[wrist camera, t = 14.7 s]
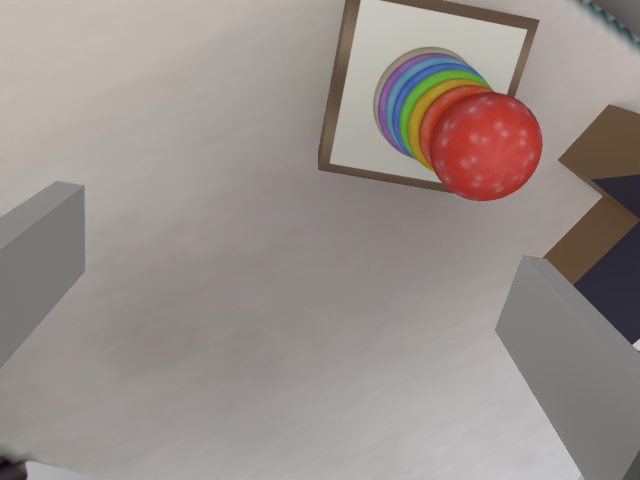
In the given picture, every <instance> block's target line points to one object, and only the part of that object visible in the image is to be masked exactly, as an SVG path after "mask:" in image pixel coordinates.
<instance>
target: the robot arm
mask: <svg viewBox="0 0 640 480" xmlns="http://www.w3.org/2000/svg"><path fill="white" fill-rule="evenodd" d="M84 271H85V211H84V185H78V184H72V183H65V182H59V181H56V182H54V183H53V184H51V185H50V186H48V187H47V188H45V189H43V190H42V191H40V192H39V193H37V194H36V195H34V196H33V197H31V198H30V199H28V200H27V201H25V202H24V203H22V204H21V205H19V206H18V207H16V208H15V209H13V210H11V211H10V212H8V213H7V214H5V215H4V216H2V217H1V218H0V368H1V367H2V366H3V364H4V363H5V362H6V361H7V360H8V359H9V358H10V356H11V355H12V354H13V353H14V352H15V351H16V350H17V348H18V347H19V346H20V345H21V344H22V343H23V341H24V340H25V339H26V338H27V337H28V336H29V335H30V333H31V332H32V331H33V330H34V329H35V328H36V327H37V325H38V324H39V323H40V322H41V321H42V320H43V319H44V317H45V316H46V315H47V314H48V313H49V312H50V310H51V309H52V308H53V307H54V306H55V305H56V304H57V302H58V301H59V300H60V299H61V298H62V297H63V296H64V294H65V293H66V292H67V291H68V290H69V289H70V288H71V286H72V285H73V284H74V283H75V282H76V281H77V280H78V278H79V277H80V276H81V275H82V274H83V273H84ZM495 331H496V333H497V334H498V336H499V338H500V339H501V341H502V343H503V344H504V346H505V347H506V349H507V351H508V352H509V354H510V356H511V357H512V359H513V361H514V362H515V364H516V366H517V367H518V369H519V371H520V372H521V374H522V376H523V377H524V379H525V381H526V382H527V384H528V386H529V387H530V389H531V391H532V392H533V394H534V396H535V397H536V399H537V401H538V402H539V404H540V406H541V407H542V409H543V410H544V412H545V414H546V415H547V417H548V419H549V420H550V422H551V424H552V425H553V427H554V429H555V430H556V432H557V434H558V435H559V437H560V439H561V440H562V442H563V444H564V445H565V447H566V449H567V450H568V452H569V454H570V455H571V457H572V459H573V460H574V462H575V464H576V465H577V467H578V469H579V470H580V472H581V473H582V475H583V477H584V478H585V480H640V351H638V350H637V349H635V348H634V347H633V346H632V345H631V344H630V343H629V342H628V341H627V340H626V338H625V337H624V336H623V335H622V334H621V333H620V332H619V331H618V330H617V329H616V328H615V327H614V326H613V325H612V324H611V323H610V322H609V321H608V320H607V319H606V318H605V317H604V316H603V315H602V314H601V313H600V312H599V311H598V310H597V309H596V308H595V307H594V306H593V305H592V304H591V303H590V302H589V301H588V300H587V299H586V298H585V297H584V296H583V295H582V294H581V293H580V292H579V291H578V290H577V289H576V288H575V287H574V286H573V285H572V284H571V283H570V282H569V281H568V280H567V279H566V278H565V277H564V276H563V275H562V274H561V273H560V272H559V271H558V270H557V269H556V268H555V267H554V266H553V265H552V264H551V263H550V262H549V261H548V260H547V259H543V258H537V257H530V256H524V255H523V257H522V260H521V262H520V265H519V268H518V270H517V273H516V276H515V278H514V281H513V284H512V286H511V289H510V291H509V294H508V297H507V299H506V302H505V305H504V307H503V310H502V313H501V315H500V318H499V320H498V323H497V326H496V328H495Z"/></svg>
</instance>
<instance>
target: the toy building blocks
mask: <svg viewBox="0 0 640 480" xmlns="http://www.w3.org/2000/svg"><path fill="white" fill-rule="evenodd" d="M558 160H559V161H560V162H561V163H562V164H564V165H565V166H566V167H567V168H569V169H570V170H571V171H572V172H574V173H575V174H576V175H577V176H579V177H580V178H581V179H582V180H584V181H585V182H586V183H587V184H589V185H590V186H591V187H592V188H594V189H595V190H596V191H597V192H599V193H600V194H601V195H602V196H603V197H602V198H601V199H600V200H599V201H598V202H597V203H596V204H595V205H594V206H593V207H592V208H591V209H590V210H589V211H588V212H587V213H586V214H585V215H584V216H583V217H582V218H581V219H580V220H579V221H578V222H577V223H576V224H575V225H574V227H573V228H572V229H571V230H570V231H569V232H568V233H567V234H566V235H565V236H564V237H563V238H562V239H561V240H560V241H559V242H558V243H557V244H556V245H555V246H554V247H553V248H552V249H551V250H550V251H549V252H548V253H547V254H546V255H545V256H544V257H543V259H547V260H548V261H549V262H550V263H551V264H552V265H553V266H554V267H555V268H556V269H557V270H558V271H559V272H560V273H561V274H562V275H563V276H564V277H565V278H566V279H567V280H568V281H569V282H570V283H571V284H572V285H573V286H574V287H575V288H576V289H577V290H578V291H579V292H580V293H581V294H582V295H583V296H584V297H585V298H586V299H587V300H588V301H589V302H590V303H591V304H592V305H593V306H594V307H595V308H596V309H597V310H598V311H599V312H600V313H601V314H602V315H603V316H604V317H605V318H606V319H607V320H608V321H609V322H610V323H611V324H612V325H613V326H614V327H615V328H616V329H617V330H618V331H619V332H620V333H621V334H622V335H623V336H624V337H625V338H626V340H627V341H628V342H629V343H630V344H631V345H633V344H634V343H635V342H636V341H637V340H639V339H640V114H638V113H635V112H631V111H628V110H625V109H622V108H618V107H615V106H612V105H608V106H607V107H606V108H605V109H604V110H603V111H602V112H601V114H600V115H599V116H598V117H597V118H596V119H595V120H594V121H593V122H592V123H591V124H590V126H589V127H588V128H587V129H586V130H585V131H584V132H583V133H582V134H581V135H580V136H579V138H578V139H577V140H576V141H575V142H574V143H573V144H572V145H571V146H570V147H569V148H568V150H567V151H566V152H565V153H564V154H563V155H562V156H561V157H560V158H559V159H558Z"/></svg>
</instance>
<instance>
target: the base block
mask: <svg viewBox="0 0 640 480" xmlns="http://www.w3.org/2000/svg"><path fill="white" fill-rule="evenodd" d="M538 23H539V20H537V19H532V18H527V17H522V16H517V15H512V14H507V13H502V12H497V11H492V10H487V9H482V8H477V7H472V6H467V5H462V4H457V3H452V2H448V1H443V0H346V1H345V7H344V12H343V18H342V23H341V29H340V34H339V40H338V45H337V51H336V56H335V62H334V68H333V73H332V79H331V84H330V90H329V95H328V101H327V106H326V112H325V117H324V123H323V129H322V134H321V140H320V145H319V151H318V170H322V171H328V172H334V173H339V174H345V175H351V176H357V177H363V178H368V179H374V180H380V181H386V182H392V183H397V184H403V185H409V186H415V187H421V188H426V189H432V190H438V191H444V192H449V193H453V192H452V191H450V190H449V189H448V188H446V187H445V186H444V185H443V184H442V182H441V181H440V180H439V178H438V177H437V175H436V174H435V172H433V171H431V170H429V169H427V168H426V167H425V166H423V165H422V164H421V163H420V162H419V161H417V160H416V159H413V158H410V157H408V156H406V155H404V154H402V153H400V152H399V151H397V150H396V149H395V148H394V147H393V146H392V145H391V144H390V143H389V142H388V141H387V140H386V139H385V138H384V137H383V136H382V134H381V133H380V131H379V129H378V127H377V124H376V121H375V118H374V113H373V99H374V94H375V90H376V87H377V84H378V82H379V80H380V78H381V76H382V74H383V73H384V71H385V70H386V69H387V68H388V66H389V65H390V64H391V63H392V62H393V61H395V60H396V59H397V58H399V57H400V56H402V55H403V54H405V53H407V52H409V51H411V50H414V49H418V48H422V47H439V48H444V49H447V50H450V51H452V52H454V53H456V54H457V55H459V56H460V57H461V58H463V59H464V60H465V61H466V62H467V64H468V65H470V66H471V67H472V68H474V69H475V70H476V71H477V72H478V73H479V74H480V75H481V76H482V77H483V78H484V80H485V81H486V82H487V83H488V84H489V86H490V87H491V88H492V90H493V91H495V92H496V93H502V94H506V95H509V96H511V97H515V94H516V91H517V88H518V84H519V81H520V78H521V75H522V72H523V69H524V66H525V63H526V60H527V57H528V54H529V51H530V48H531V45H532V42H533V39H534V36H535V33H536V29H537V26H538Z"/></svg>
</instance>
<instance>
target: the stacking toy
mask: <svg viewBox="0 0 640 480" xmlns="http://www.w3.org/2000/svg"><path fill="white" fill-rule="evenodd" d="M373 113H374V118H375V121H376V124H377V127H378V129H379V131H380V133H381V134H382V136H383V137H384V138H385V139H386V140H387V141H388V142H389V143H390V144H391V145H392V146H393V147H394V148H395V149H396V150H397V151H399V152H400V153H402V154H404V155H406V156H408V157H410V158H413V159H416V160H417V161H419V162H420V163H421V164H422V165H423V166H425V167H426V168H427V169H429V170H431V171H433V172H435V174H436V175H437V177H438V178H439V180H440V181H441V182H442V184H443V185H444V186H445V187H446V188H448V189H449V190H450V191H452V192H453V193H455V194H456V195H458V196H461V197H463V198H466V199H470V200H476V201H489V200H495V199H500V198H503V197H505V196H507V195H509V194H511V193H513V192H515V191H516V190H518V189H519V188H521V187H522V186H523V185H524V184H525V183H526V182H527V181H528V179H529V178H530V177H531V176H532V174H533V173H534V171H535V169H536V167H537V166H538V163H539V160H540V156H541V151H542V135H541V130H540V127H539V125H538V122H537V120H536V118H535V116H534V115H533V113H532V112H531V110H530V109H528V108H527V107H526V106H525V105H524V104H523V103H522V102H520V101H519V100H517V99H515V98H514V97H511V96H509V95H506V94H502V93H496V92H495V91H493V90H492V88H491V87H490V86H489V84H488V83H487V82H486V81H485V80H484V78H483V77H482V76H481V75H480V74H479V73H478V72H477V71H476V70H475V69H474V68H472V67H471V66H470V65H468V64H467V62H466V61H465V60H464V59H463V58H461V57H460V56H459V55H457V54H456V53H454V52H452V51H450V50H447V49H444V48H439V47H422V48H418V49H414V50H411V51H409V52H407V53H405V54H403V55H402V56H400V57H399V58H397V59H396V60H395V61H393V62H392V63H391V64H390V65H389V66H388V68H387V69H386V70H385V71H384V73H383V74H382V76H381V78H380V80H379V82H378V84H377V87H376V90H375V94H374V99H373Z"/></svg>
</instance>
